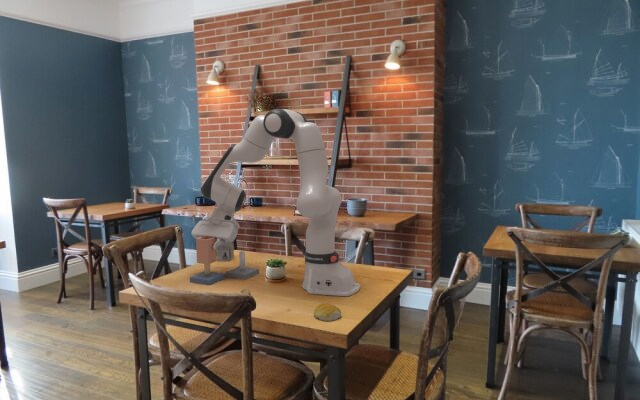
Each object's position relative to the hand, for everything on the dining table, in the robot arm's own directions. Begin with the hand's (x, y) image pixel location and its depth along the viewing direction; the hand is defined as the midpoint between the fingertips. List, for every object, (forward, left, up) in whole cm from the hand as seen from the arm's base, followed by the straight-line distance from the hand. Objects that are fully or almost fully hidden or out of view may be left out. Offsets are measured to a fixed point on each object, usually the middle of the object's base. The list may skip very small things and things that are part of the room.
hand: (206, 248), depth 182 cm
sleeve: (0, 0, -6) cm, 6 cm away
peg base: (0, 0, -13) cm, 14 cm away
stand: (-9, -12, -13) cm, 20 cm away
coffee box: (+14, -31, -14) cm, 37 cm away
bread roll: (-61, +15, -14) cm, 64 cm away
